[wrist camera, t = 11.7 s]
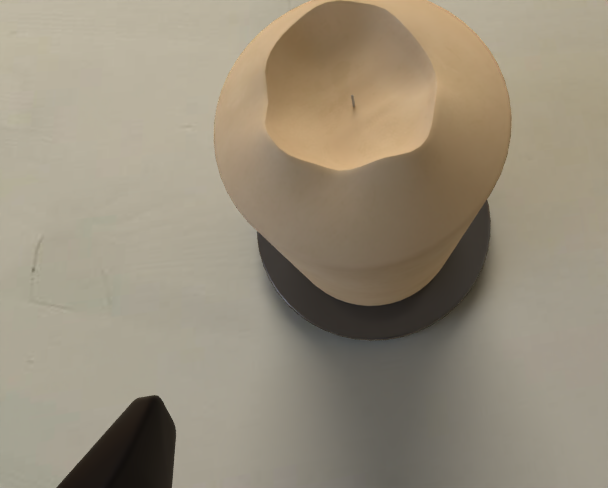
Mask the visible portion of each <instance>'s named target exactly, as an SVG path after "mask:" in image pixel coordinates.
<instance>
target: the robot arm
mask: <svg viewBox="0 0 608 488" xmlns="http://www.w3.org/2000/svg"><path fill="white" fill-rule="evenodd" d="M175 441H176V429H175V425H174V422H173V420H172V418H171V416H170V414H169V413H168V411H167V409H166V407H165V405H164V403H163V401H162V400H161V398H160V397H159V396H155V395H153V396H147V397H140V398H137V399H135V400H134V401H133V402H132V403H131V404H130V405H129V407H128V408H127V409H126V410H125V411H124V412H123V413H122V414H121V416H120V417H119V418H118V419H117V420H116V421H115V422H114V423H113V425H112V426H111V427H110V428H109V429H108V430H107V431H106V432H105V434H104V435H103V436H102V437H101V438H100V439H99V440H98V441H97V443H96V444H95V445H94V446H93V447H92V448H91V449H90V451H89V452H88V453H87V454H86V455H85V456H84V457H83V458H82V460H81V461H80V462H79V463H78V464H77V465H76V466H75V467H74V469H73V470H72V471H71V472H70V473H69V474H68V475H67V476H66V478H65V479H64V480H63V481H62V482H61V483H60V484H59V485H58V487H57V488H172V479H173V466H174V454H175Z"/></svg>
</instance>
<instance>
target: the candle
mask: <svg viewBox="0 0 608 488" xmlns="http://www.w3.org/2000/svg"><path fill="white" fill-rule="evenodd" d="M511 118H512V117H511V108H510V99H509V95H508V91H507V87H506V83H505V80H504V78H503V75H502V73H501V70H500V68H499V66H498V63H497V62H496V60H495V59H494V57H493V55H492V54H491V52H490V50H489V49H488V47H487V46H486V45H485V44H484V42H483V41H482V40H481V39H480V38H479V36H478V35H477V34H476V33H475V32H474V31H473V30H472V29H471V28H470V27H468V26H467V25H466V24H465V23H464V22H463V21H462V20H460V19H459V18H457V17H456V16H454V15H453V14H452V13H450V12H449V11H447V10H445V9H443V8H441V7H439V6H437V5H436V4H434V3H432V2H429V1H426V0H312V1H309V2H307V3H304V4H302V5H300V6H298V7H296V8H294V9H292V10H290V11H289V12H287V13H285V14H284V15H282V16H281V17H279V18H278V19H276V20H275V21H273V22H272V23H271V24H270V25H268V26H267V27H266V28H265V29H264V30H262V31H261V32H260V33H259V34H258V35H257V36H256V37H255V38H254V39H253V40H252V41H251V42H250V43H249V44H248V46H247V47H246V48H245V50H244V51H243V52H242V53H241V55H240V56H239V57H238V59H237V60H236V62H235V64H234V65H233V67H232V69H231V71H230V72H229V74H228V76H227V79H226V81H225V83H224V86H223V88H222V90H221V94H220V97H219V101H218V104H217V108H216V115H215V121H214V148H215V156H216V161H217V165H218V169H219V173H220V176H221V179H222V181H223V184H224V186H225V188H226V191H227V193H228V194H229V196H230V198H231V200H232V201H233V203H234V205H235V206H236V208H237V209H238V210H239V212H240V213H241V214H242V215H243V217H244V218H245V219H246V220H247V222H248V223H249V224H250V225H251V226H253V227H254V228H255V229H256V230H257V231H258V232H259V233H260V234H261V235H262V236H263V237H264V238H265V239H266V240H267V241H268V242H270V243H271V244H272V245H273V246H274V247H275V248H276V249H277V250H278V251H279V252H280V253H281V254H282V255H283V256H284V257H285V258H287V259H288V260H289V261H290V262H291V263H292V264H293V265H294V266H295V267H296V268H297V269H298V270H299V271H300V272H301V273H303V274H304V275H305V276H306V277H307V278H308V279H309V280H310V281H311V282H312V283H313V284H314V285H316V286H317V287H318V288H320V289H321V290H322V291H324V292H325V293H327V294H328V295H330V296H332V297H334V298H336V299H339V300H341V301H344V302H347V303H351V304H356V305H364V306H379V305H385V304H391V303H394V302H397V301H401V300H403V299H405V298H407V297H409V296H411V295H413V294H415V293H416V292H418V291H419V290H421V289H422V288H423V287H424V286H426V285H427V284H428V283H429V282H430V281H431V280H432V279H433V278H434V277H435V276H436V274H437V273H438V272H439V271H440V269H441V268H442V267H443V265H444V264H445V262H446V261H447V259H448V258H449V256H450V255H451V253H452V252H453V250H454V249H455V247H456V246H457V244H458V242H459V241H460V239H461V238H462V236H463V235H464V233H465V232H466V230H467V229H468V227H469V226H470V224H471V223H472V221H473V220H474V218H475V217H476V215H477V214H478V212H479V211H480V209H481V208H482V206H483V205H484V203H485V201H486V200H487V198H488V197H489V195H490V194H491V192H492V190H493V188H494V186H495V184H496V182H497V180H498V178H499V177H500V175H501V172H502V169H503V166H504V163H505V160H506V157H507V154H508V148H509V143H510V138H511Z"/></svg>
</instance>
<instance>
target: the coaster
mask: <svg viewBox="0 0 608 488" xmlns="http://www.w3.org/2000/svg"><path fill="white" fill-rule="evenodd" d="M490 222H491V220H490V212H489V205H488V201H487V200H486V201H485V203H484V205H483V206H482V208H481V209H480V211H479V212H478V214H477V215H476V217H475V218H474V220H473V221H472V223H471V224H470V226H469V227H468V229H467V230H466V232H465V233H464V235H463V236H462V238H461V239H460V241H459V242H458V244H457V246H456V247H455V249H454V250H453V252H452V253H451V255H450V256H449V258H448V259H447V261H446V262H445V264H444V265H443V267H442V268H441V269H440V271H439V272H438V273H437V274H436V276H435V277H434V278H433V279H432V280H431V281H430V282H429V283H428V284H427V285H426V286H424V287H423V288H422V289H421V290H419V291H418V292H416V293H415V294H413V295H411V296H409V297H407V298H405V299H403V300H401V301H397V302H394V303H391V304H385V305H379V306H364V305H356V304H351V303H347V302H344V301H341V300H339V299H336V298H334V297H332V296H330V295H328V294H327V293H325V292H324V291H322V290H321V289H320V288H318V287H317V286H316V285H314V284H313V283H312V282H311V281H310V280H309V279H308V278H307V277H306V276H305V275H304V274H303V273H301V272H300V271H299V270H298V269H297V268H296V267H295V266H294V265H293V264H292V263H291V262H290V261H289V260H288V259H287V258H285V257H284V256H283V255H282V254H281V253H280V252H279V251H278V250H277V249H276V248H275V247H274V246H273V245H272V244H271V243H270V242H268V241H267V240H266V239H265V238H264V237H263V236H262V235H261V234H260V233H259V232H258V231H257V239H258V245H259V252H260V256H261V259H262V262H263V266H264V268H265V270H266V273H267V275H268V277H269V279H270V281H271V283H272V284H273V286H274V288H275V289H276V291H277V292H278V294H279V295H280V296H281V297H282V298H283V300H284V301H285V302H286V303H287V304H288V305H289V306H290V307H291V308H292V309H293V310H294V311H295V312H296V313H297V314H299V315H300V316H301V317H303V318H304V319H306V320H307V321H309V322H310V323H312V324H314V325H315V326H317V327H319V328H321V329H323V330H325V331H328V332H331V333H334V334H336V335H339V336H343V337H347V338H352V339H358V340H369V341H373V340H388V339H394V338H399V337H403V336H407V335H410V334H413V333H416V332H418V331H420V330H422V329H424V328H426V327H428V326H431V325H432V324H434V323H435V322H437V321H438V320H440V319H441V318H443V317H444V316H446V315H447V314H448V313H449V312H450V311H451V310H453V309H454V308H455V307H456V306H457V305H458V304H459V303H460V302H461V301H462V300H463V298H464V297H465V296H466V295H467V294H468V292H469V291H470V289H471V288H472V286H473V285H474V283H475V282H476V280H477V278H478V276H479V274H480V272H481V270H482V267H483V265H484V262H485V259H486V255H487V252H488V247H489V240H490Z"/></svg>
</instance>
